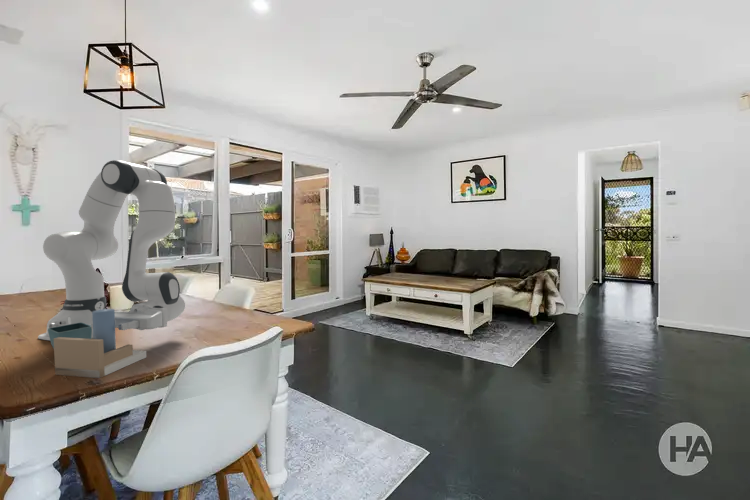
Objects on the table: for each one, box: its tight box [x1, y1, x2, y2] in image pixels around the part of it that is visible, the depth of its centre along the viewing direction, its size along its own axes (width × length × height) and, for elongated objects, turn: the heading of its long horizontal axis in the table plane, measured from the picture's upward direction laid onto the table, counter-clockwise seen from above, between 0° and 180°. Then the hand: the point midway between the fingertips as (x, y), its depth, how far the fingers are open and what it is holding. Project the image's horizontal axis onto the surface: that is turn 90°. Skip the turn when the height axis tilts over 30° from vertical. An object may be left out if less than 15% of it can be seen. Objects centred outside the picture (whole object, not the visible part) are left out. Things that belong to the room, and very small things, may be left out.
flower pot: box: [48, 322, 92, 349], centre depth 114 cm, size 9×9×9 cm
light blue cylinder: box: [92, 308, 117, 353], centre depth 105 cm, size 5×5×14 cm
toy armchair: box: [53, 337, 147, 379], centre depth 105 cm, size 14×16×10 cm
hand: (106, 326), depth 106 cm, fingers open, 8 cm apart
